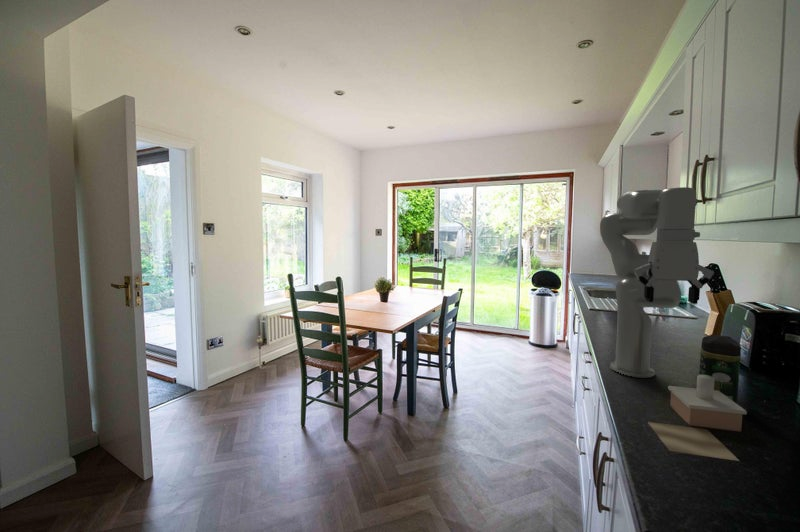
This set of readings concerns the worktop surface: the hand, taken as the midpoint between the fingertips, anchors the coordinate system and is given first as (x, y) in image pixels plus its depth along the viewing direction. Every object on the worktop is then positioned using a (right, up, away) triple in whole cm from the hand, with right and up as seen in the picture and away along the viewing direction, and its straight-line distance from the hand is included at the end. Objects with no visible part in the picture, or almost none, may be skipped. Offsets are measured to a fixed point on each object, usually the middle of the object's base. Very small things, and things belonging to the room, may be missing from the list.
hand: (670, 302), depth 92 cm
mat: (-7, -30, -14) cm, 34 cm away
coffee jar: (+15, -28, +3) cm, 32 cm away
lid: (+4, -24, -5) cm, 25 cm away
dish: (+4, -29, -5) cm, 30 cm away
